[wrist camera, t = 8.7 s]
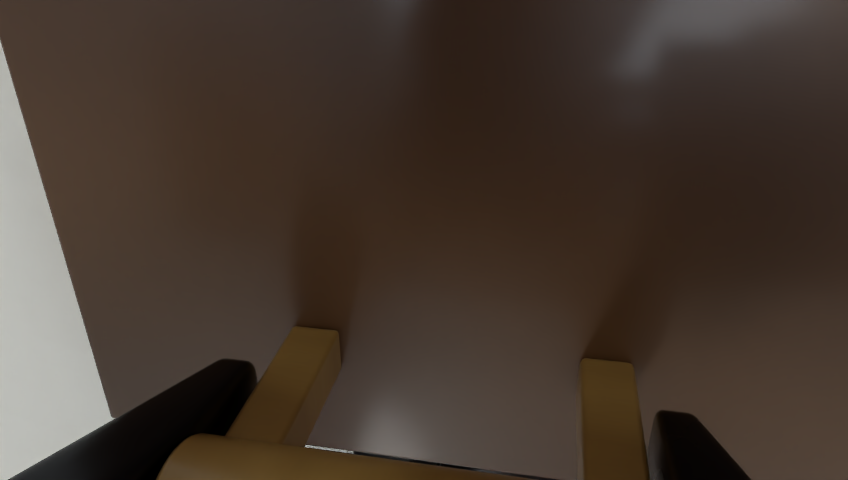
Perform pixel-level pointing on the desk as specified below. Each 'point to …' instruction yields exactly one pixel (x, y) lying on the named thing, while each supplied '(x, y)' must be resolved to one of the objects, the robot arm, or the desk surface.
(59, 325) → the desk surface
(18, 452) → the desk surface
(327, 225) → the lid
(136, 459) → the robot arm
